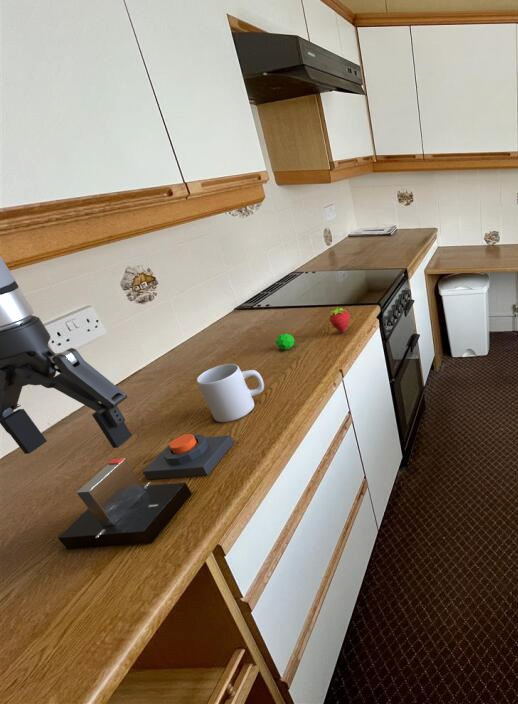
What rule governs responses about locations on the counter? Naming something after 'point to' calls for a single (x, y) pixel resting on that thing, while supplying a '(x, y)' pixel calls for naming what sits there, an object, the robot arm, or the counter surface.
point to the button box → (189, 459)
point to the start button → (183, 444)
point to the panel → (129, 520)
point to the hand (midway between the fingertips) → (79, 444)
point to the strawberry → (339, 319)
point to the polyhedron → (285, 341)
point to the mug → (228, 391)
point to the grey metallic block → (112, 492)
